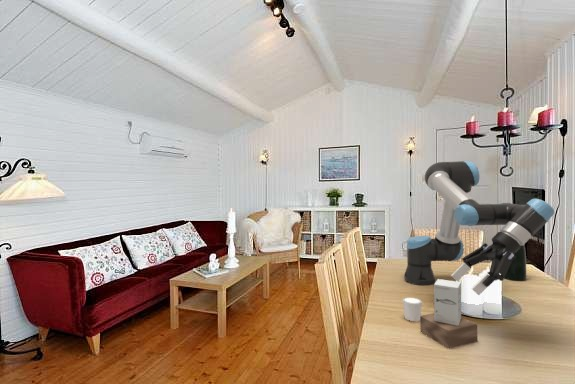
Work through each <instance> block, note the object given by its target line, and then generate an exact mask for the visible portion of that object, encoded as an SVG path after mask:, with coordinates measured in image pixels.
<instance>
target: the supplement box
mask: <svg viewBox="0 0 575 384" xmlns="http://www.w3.org/2000/svg"><path fill="white" fill-rule="evenodd" d="M433 299H434V301H433V302H434V307H433V308H434V311H433V312H434V321H437V322H442V323H447V324H451V325H455V326H459V323H460V320H461V317H462V282H461V281H458V282H457V281H456V280H446V279H441V278H437V280H435V283H434V284H433Z"/></svg>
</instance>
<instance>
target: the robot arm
mask: <svg viewBox="0 0 575 384" xmlns="http://www.w3.org/2000/svg"><path fill="white" fill-rule="evenodd" d="M424 173H425V174H424V181H425V184H426V186H427V187H428V188H429V189H431V190H432V191H435V192H437V194H439V195H440V196H441V198H442V199H443V200H444V204H443V209H442V215H441V221H440V226H439V231H438V232H436V233H435V237H434V238H431V236H430V235H417V236H416V235H415V236H412V237H409V238H408V239H407V240H406V242H407V243H406V251H407V252H406V253H407V254H406V256H407V257H406V259H407V266H406V269H405V272H404V274H403V275H404V277H403V279H405V280H406V281H408V282H407V283H409V282H410V283H409V284H412V283H414V284H413V285H417V284H421V285H420V286H431V285H434V284H435V282H436V277H435V274H434V273H435V272H434V271H433V268H432V262H452V261H458V260H460V259H461V258H462V259H461V260H462V262H463V263H461V265H460V266H459V267H457V269H455V271H454V272H452V273H451V275H450V276H451V278H453V279H454V281H455V282H460V280H461V279H462V278H463V277H464V276H465V274H467V273H468V271H470V270H472V267H473V266H476V265H477V264H479V263H482V262H484V261H487V262H488V261H491V264H490V268H489V271H487V272H486V273H485V274H484V275H483V276H482V277H481V278H480V279H479V280H478V281H477V282H476V283H475V284H473V286H472V287H471V290H472V291H474V293H476V294H477V295H478V296H480V295H481V294H482V293H483V292H484V291H485V290H486V289H488V287H490V286H491V285H492V284H493V283H494V282H495V281H498V280H499V281H500V282H502V281H504V280H505V278H504V277H505V275H506V273H507V271H508V269H509V267H510V265H511V262H512V261H513V260H514V259H515V258H516V256H514V254H515V253H516V252H517V251H518V250H519V249H520V248H521V246H522V245H524V246H525V244H526V243H528V241H529V240H530V239H531V238H532V237H533V236H534V235H536V234H537V232H538V231H539V230H540V229H542V228H543V227H544V226H545V225H546V224H547V223H548V222H549V220H550V219H551V218H552V217H553V216H554V214H555V209H554V208H553V206H552V205H550V203H548V202H546V201H544V200H542V199H540V198H532V199H530V200H529V201H528V202H526V204H518V203H510V202H499V203H486V204H485V203H484V204H483V203H482V204H481V203H479V202H477V201H476V200H475V199H474V198H473V197H471V196H470V195H469V194H470V192H471V191H472V189H473V188H472V187H475V186H478V184H479V183H480V182H479V181H480V171H479V168H478V165H476V164H475V163H474V162H473V161H465V160H462V161H459V160H458V161H439V162H435V163H434V164H431V165H430V166H429V167H428V168H427V169H426V171H425V172H424ZM468 193H469V194H468ZM502 225H503V227H502V228H501V229H500V231H498V232H496V234H494V236H493V237H492V238H491V242H492V243H491V244H490V245H489V244H487V243H486V242H485V243H483V244H481V246H480V247H478V248H477V249H475V250H473V251H471V252H470V253H468V254H466V255H465V256H464V257H463V254H464V249H465V248H464V243H463V241H462V240H461V238H460V237H461V236H459V231H460V227H461V226H468V227H473V226H502ZM405 280H404V281H405ZM406 281H405V282H406ZM430 284H431V285H430Z"/></svg>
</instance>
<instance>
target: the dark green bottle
mask: <svg viewBox="0 0 575 384" xmlns="http://www.w3.org/2000/svg"><path fill="white" fill-rule="evenodd" d="M526 255H527V254H526V247H525V244H524V245H522V246H521V248H520V249H519V250H518V251H517V252H516V253H515V254H514V256H516V258H515V259H514V260H513V261H512V262H511V265H510V267H509V269H508V271H507V273H506V275H505V277H504V279H505V280H509V281H516V282H517V281H518V282H520V281H521V282H522V281H525V280H526V281H527V256H526Z"/></svg>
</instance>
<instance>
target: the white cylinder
mask: <svg viewBox="0 0 575 384" xmlns="http://www.w3.org/2000/svg"><path fill="white" fill-rule="evenodd" d="M422 303H423V301H422V300H421V299H419V298H417V297H404V298H402V305H403V313H404V314H403V315H404V316H403V317H404V319H405V320H406V319H407V321H409V320H410V322H413V321H417V322H420V316H422V307H423V306H422Z"/></svg>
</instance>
